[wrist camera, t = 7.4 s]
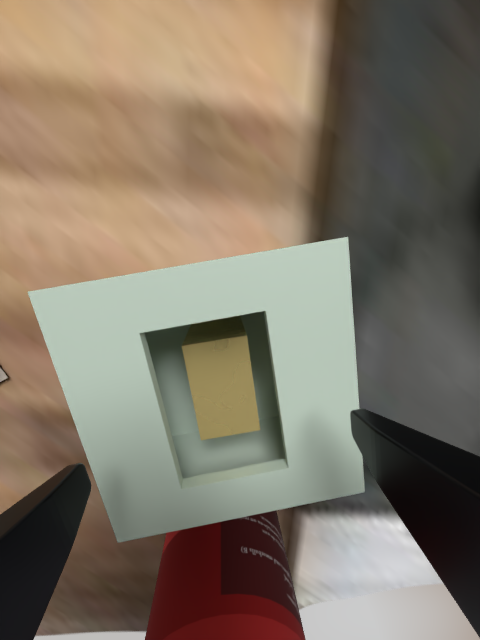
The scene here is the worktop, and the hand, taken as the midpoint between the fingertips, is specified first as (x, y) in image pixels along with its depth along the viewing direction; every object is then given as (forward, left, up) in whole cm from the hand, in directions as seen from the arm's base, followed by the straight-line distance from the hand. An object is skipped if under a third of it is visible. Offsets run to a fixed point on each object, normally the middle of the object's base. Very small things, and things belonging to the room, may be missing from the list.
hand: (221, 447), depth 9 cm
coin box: (0, 0, -10) cm, 10 cm away
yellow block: (0, 0, -9) cm, 9 cm away
